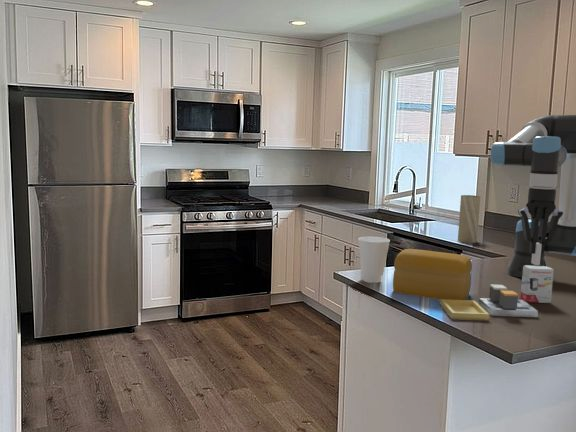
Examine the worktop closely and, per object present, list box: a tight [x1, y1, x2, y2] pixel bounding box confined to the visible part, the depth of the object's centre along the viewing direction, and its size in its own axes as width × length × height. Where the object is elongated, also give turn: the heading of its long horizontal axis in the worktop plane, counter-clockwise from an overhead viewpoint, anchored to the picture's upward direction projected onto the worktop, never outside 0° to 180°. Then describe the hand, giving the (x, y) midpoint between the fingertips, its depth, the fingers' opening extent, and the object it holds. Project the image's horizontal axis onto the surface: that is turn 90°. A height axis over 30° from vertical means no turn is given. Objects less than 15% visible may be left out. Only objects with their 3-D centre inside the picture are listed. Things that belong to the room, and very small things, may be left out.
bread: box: [392, 248, 473, 301], centre depth 187 cm, size 24×13×15 cm, turn 62°
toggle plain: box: [488, 283, 508, 302], centre depth 174 cm, size 4×4×5 cm
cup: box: [357, 236, 391, 284], centre depth 202 cm, size 12×12×16 cm
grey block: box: [499, 290, 519, 309], centre depth 167 cm, size 4×4×5 cm
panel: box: [478, 297, 539, 318], centre depth 171 cm, size 14×12×2 cm
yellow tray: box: [439, 299, 490, 322], centre depth 167 cm, size 11×14×2 cm
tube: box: [457, 194, 481, 244], centre depth 292 cm, size 10×10×25 cm
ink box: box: [519, 265, 555, 304], centre depth 181 cm, size 9×5×12 cm, turn 90°
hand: (535, 263), depth 165 cm, fingers closed
